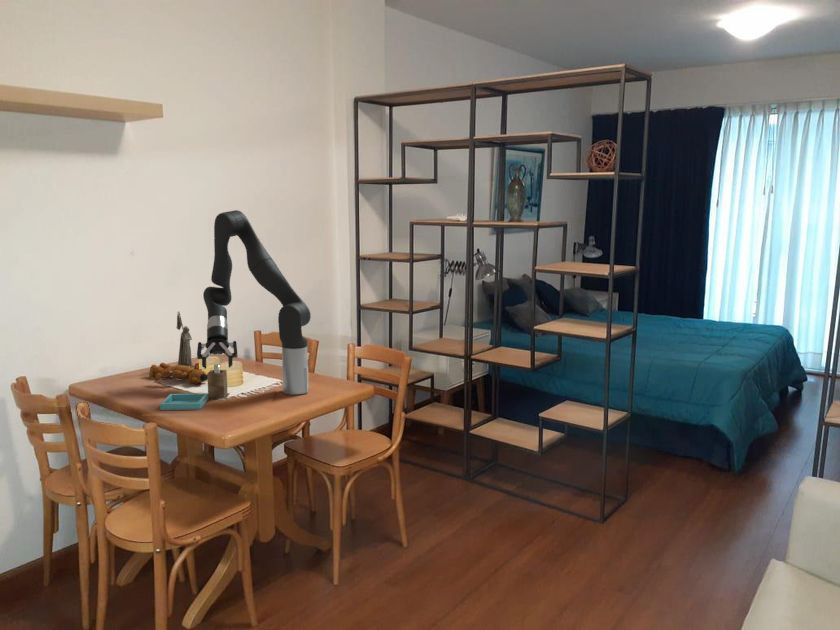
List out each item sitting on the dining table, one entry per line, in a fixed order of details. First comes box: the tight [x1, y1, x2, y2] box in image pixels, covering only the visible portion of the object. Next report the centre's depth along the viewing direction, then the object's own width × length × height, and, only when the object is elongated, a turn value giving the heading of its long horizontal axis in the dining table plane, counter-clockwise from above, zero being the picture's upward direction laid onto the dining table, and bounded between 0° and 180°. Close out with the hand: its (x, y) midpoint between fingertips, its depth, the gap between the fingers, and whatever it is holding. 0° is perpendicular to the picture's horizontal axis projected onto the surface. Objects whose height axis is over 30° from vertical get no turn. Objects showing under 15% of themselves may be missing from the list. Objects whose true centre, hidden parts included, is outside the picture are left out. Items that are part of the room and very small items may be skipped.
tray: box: [159, 392, 209, 411], centre depth 224 cm, size 13×12×3 cm
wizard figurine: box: [176, 311, 194, 368], centre depth 273 cm, size 10×8×25 cm
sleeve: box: [206, 369, 229, 398], centre depth 234 cm, size 6×6×9 cm
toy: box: [148, 362, 208, 386], centre depth 257 cm, size 20×7×30 cm
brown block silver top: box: [208, 363, 230, 400], centre depth 234 cm, size 7×7×12 cm
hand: (217, 366), depth 238 cm, fingers open, 8 cm apart
